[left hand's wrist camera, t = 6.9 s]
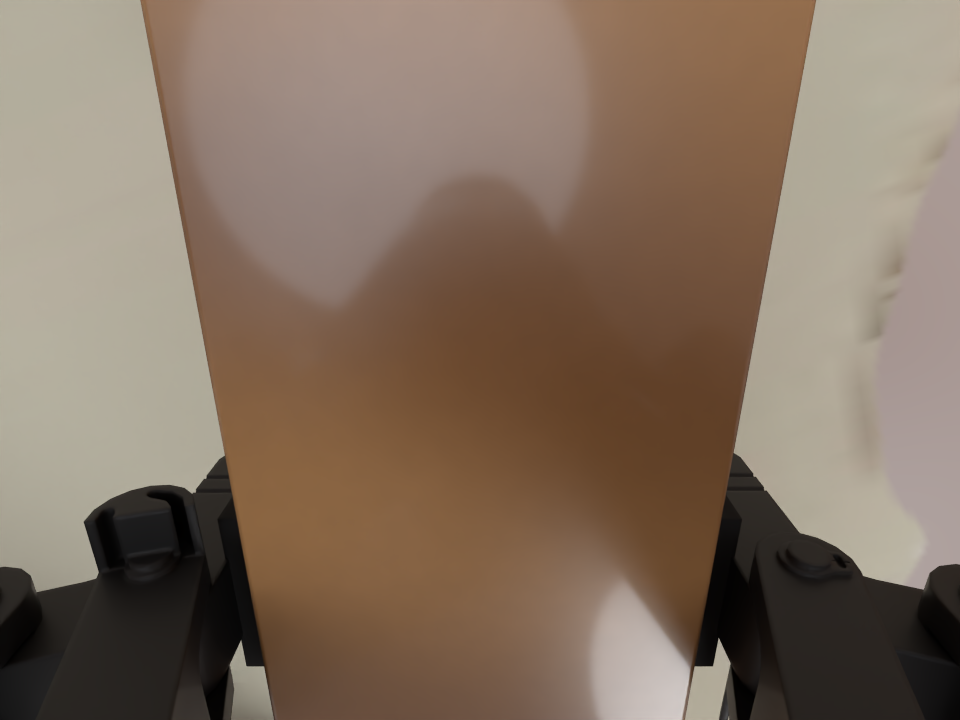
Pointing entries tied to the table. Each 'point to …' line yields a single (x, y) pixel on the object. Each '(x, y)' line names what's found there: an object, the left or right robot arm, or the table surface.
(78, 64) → the table surface
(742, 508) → the left robot arm
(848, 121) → the table surface
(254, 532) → the bar
